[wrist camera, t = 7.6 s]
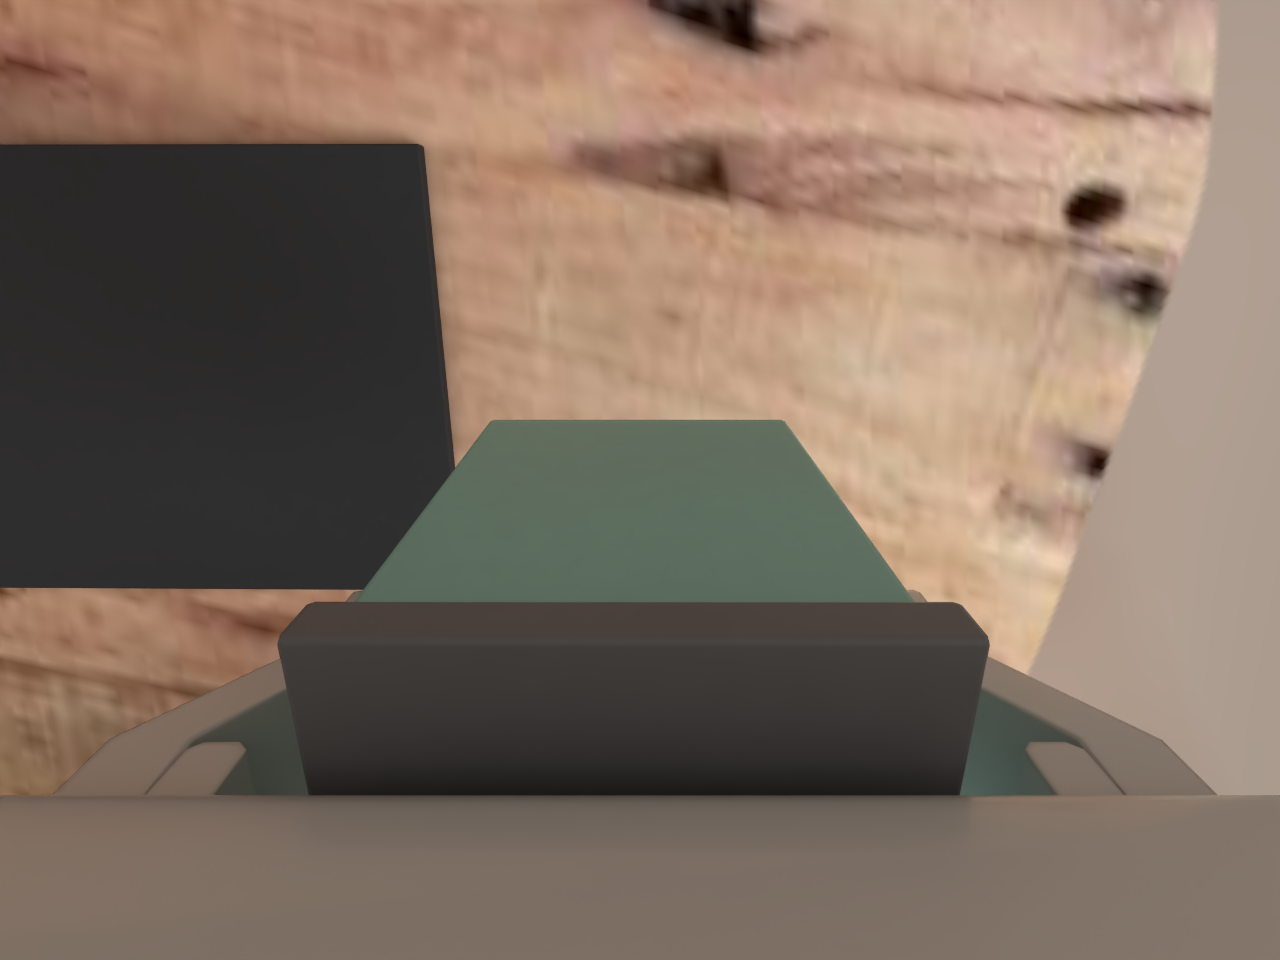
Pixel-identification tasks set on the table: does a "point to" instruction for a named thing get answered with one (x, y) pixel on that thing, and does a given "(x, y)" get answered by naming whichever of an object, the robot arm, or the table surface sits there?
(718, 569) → the green block grey end
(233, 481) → the mat
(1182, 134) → the table surface
